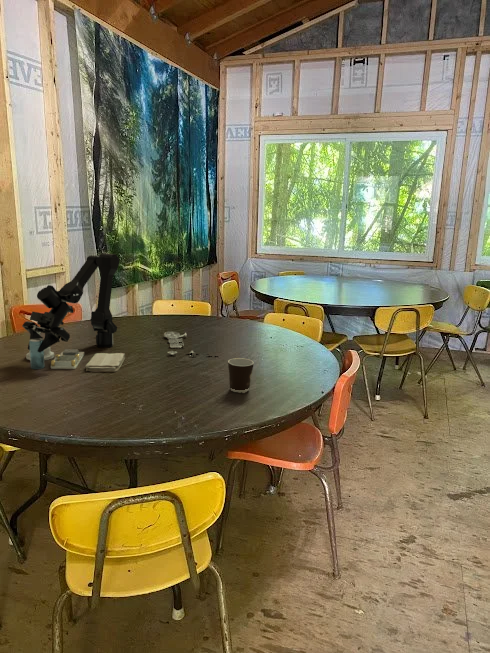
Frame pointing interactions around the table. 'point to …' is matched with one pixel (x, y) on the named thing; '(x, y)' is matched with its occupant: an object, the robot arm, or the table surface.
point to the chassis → (67, 359)
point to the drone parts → (174, 340)
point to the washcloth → (105, 362)
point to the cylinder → (36, 354)
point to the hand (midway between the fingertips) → (33, 350)
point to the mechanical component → (47, 354)
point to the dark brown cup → (240, 373)
